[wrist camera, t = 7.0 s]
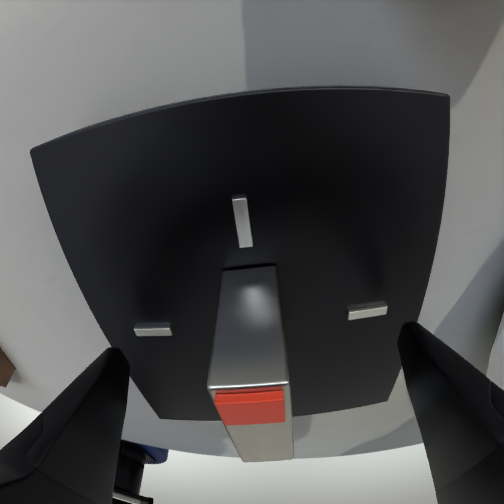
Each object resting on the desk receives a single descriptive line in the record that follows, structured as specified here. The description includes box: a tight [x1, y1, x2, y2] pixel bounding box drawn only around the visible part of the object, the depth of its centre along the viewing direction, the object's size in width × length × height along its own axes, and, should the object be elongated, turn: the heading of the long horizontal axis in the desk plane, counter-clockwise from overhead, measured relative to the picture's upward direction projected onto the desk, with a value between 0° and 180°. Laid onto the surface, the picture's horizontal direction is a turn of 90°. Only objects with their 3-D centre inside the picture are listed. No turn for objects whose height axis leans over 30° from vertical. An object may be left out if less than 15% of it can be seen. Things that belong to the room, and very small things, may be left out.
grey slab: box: [207, 266, 294, 462], centre depth 8 cm, size 5×2×4 cm, turn 7°
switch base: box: [30, 85, 450, 421], centre depth 11 cm, size 14×12×3 cm
